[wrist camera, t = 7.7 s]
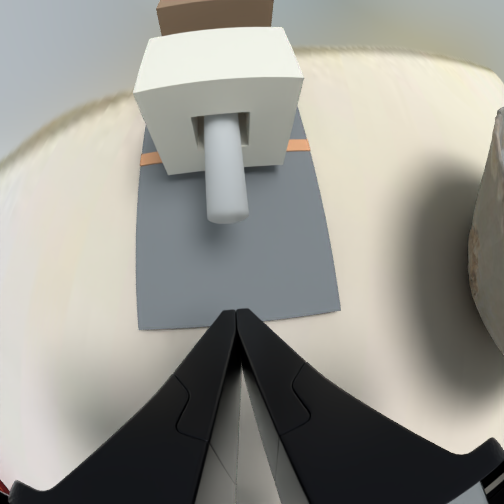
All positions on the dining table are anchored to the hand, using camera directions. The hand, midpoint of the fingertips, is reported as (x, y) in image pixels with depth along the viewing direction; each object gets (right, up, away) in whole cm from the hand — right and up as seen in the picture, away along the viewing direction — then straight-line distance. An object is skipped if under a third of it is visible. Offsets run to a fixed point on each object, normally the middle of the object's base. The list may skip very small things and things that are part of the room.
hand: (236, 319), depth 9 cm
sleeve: (-1, +10, +8) cm, 13 cm away
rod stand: (-1, +9, +10) cm, 13 cm away
